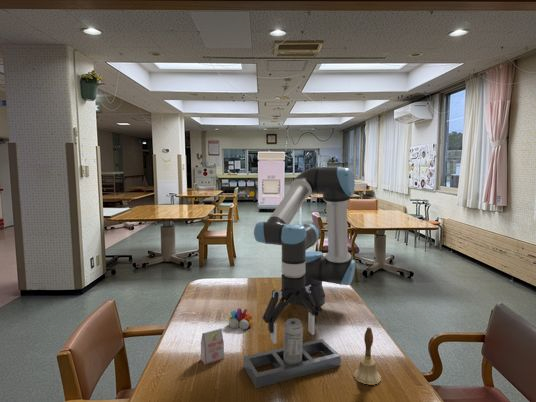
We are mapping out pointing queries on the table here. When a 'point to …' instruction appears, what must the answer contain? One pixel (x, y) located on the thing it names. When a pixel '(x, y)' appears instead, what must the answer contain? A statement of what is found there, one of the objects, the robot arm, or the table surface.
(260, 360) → the rack
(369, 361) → the hand bell
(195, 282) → the table surface
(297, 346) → the energy drink can
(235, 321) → the rainbow disc toy
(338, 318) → the table surface
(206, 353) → the white printed box
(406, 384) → the table surface
